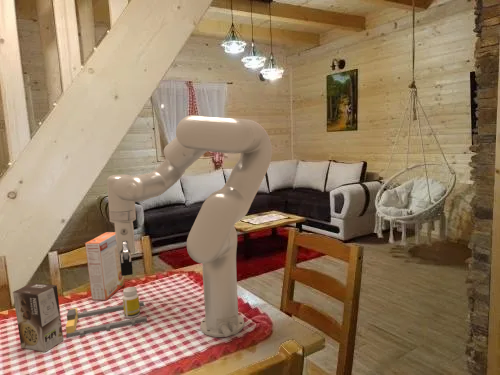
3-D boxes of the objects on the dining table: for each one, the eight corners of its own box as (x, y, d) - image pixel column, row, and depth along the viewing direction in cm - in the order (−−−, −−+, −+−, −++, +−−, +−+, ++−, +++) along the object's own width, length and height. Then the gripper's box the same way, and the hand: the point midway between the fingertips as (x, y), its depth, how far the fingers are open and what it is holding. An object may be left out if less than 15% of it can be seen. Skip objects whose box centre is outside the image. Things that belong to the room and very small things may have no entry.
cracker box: (110, 284, 141) (105, 231, 138) (125, 284, 140) (120, 231, 138) (90, 300, 128) (84, 242, 125) (106, 301, 127) (100, 242, 124)
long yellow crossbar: (74, 335, 105) (73, 320, 104) (66, 336, 104) (65, 322, 104) (78, 316, 116) (76, 303, 115) (71, 318, 115) (69, 304, 115)
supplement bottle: (143, 312, 117) (141, 287, 116) (132, 319, 113) (130, 293, 112) (131, 310, 119) (129, 285, 118) (120, 316, 115) (118, 291, 114)
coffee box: (64, 339, 103) (58, 284, 101) (45, 352, 97) (37, 294, 95) (39, 335, 106) (33, 281, 104) (19, 347, 100) (11, 291, 98)
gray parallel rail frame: (147, 322, 110) (147, 319, 110) (66, 339, 103) (66, 336, 103) (143, 302, 124) (143, 299, 124) (71, 316, 117) (71, 313, 117)
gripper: (137, 220, 105) (141, 277, 107) (133, 209, 121) (137, 259, 124) (109, 222, 102) (113, 281, 105) (109, 211, 118) (113, 262, 121)
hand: (126, 269), depth 114 cm, fingers open, 9 cm apart
